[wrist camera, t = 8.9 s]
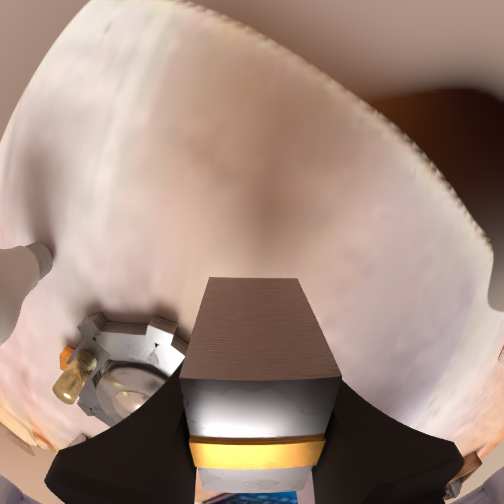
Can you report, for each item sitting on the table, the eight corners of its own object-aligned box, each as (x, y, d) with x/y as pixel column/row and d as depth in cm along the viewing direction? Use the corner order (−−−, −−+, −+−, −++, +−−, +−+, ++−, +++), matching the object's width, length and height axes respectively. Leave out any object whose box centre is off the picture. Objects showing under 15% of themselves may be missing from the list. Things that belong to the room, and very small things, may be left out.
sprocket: (118, 272, 18) (76, 312, 12) (275, 394, 21) (282, 450, 15) (51, 372, 20) (23, 409, 15) (170, 454, 24) (162, 496, 18)
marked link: (297, 278, 11) (344, 380, 5) (285, 388, 13) (304, 492, 7) (208, 277, 11) (176, 381, 5) (214, 388, 13) (202, 494, 7)
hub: (185, 359, 20) (178, 383, 17) (194, 420, 22) (190, 443, 19) (97, 348, 20) (83, 369, 17) (118, 409, 22) (110, 429, 19)
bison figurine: (451, 465, 31) (409, 495, 32) (466, 486, 24) (422, 517, 25) (455, 472, 34) (420, 498, 35) (468, 490, 27) (431, 517, 28)
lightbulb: (83, 294, 18) (-6, 384, 8) (30, 290, 18) (-53, 357, 8) (69, 212, 16) (-53, 262, 6) (16, 218, 16) (-86, 261, 6)
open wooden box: (475, 451, 31) (482, 463, 27) (441, 486, 36) (446, 497, 32) (426, 474, 31) (433, 489, 27) (395, 505, 35) (399, 518, 32)
